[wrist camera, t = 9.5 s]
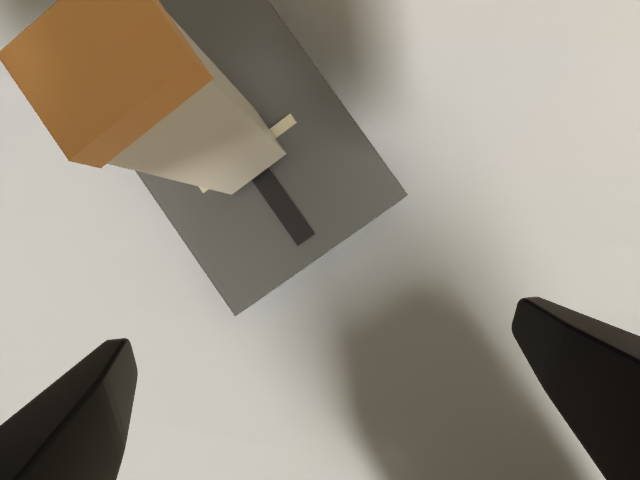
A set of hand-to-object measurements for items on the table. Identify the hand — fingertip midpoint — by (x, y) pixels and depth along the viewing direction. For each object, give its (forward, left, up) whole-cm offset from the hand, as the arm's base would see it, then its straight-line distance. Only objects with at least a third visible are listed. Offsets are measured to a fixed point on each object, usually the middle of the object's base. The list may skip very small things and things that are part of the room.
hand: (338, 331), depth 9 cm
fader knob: (+6, +5, -9) cm, 12 cm away
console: (+7, +7, -12) cm, 15 cm away
